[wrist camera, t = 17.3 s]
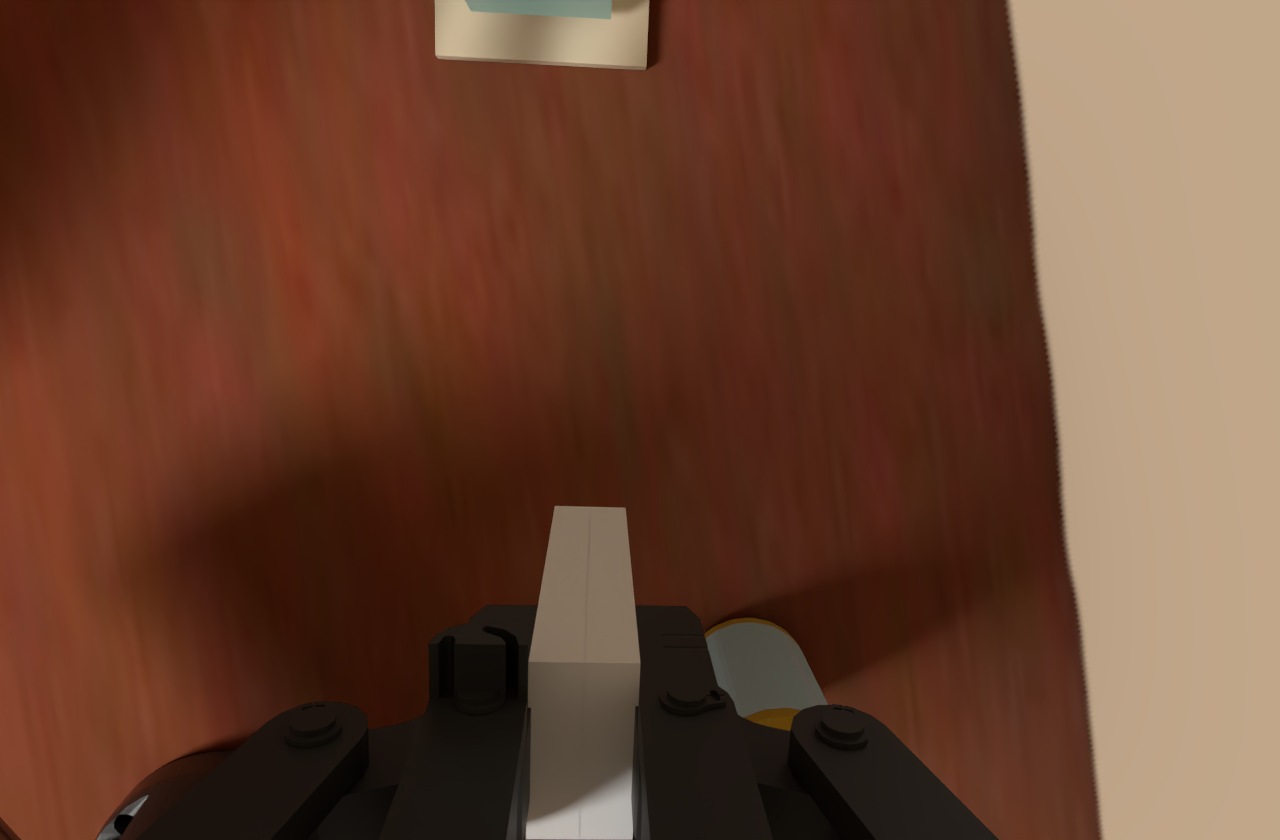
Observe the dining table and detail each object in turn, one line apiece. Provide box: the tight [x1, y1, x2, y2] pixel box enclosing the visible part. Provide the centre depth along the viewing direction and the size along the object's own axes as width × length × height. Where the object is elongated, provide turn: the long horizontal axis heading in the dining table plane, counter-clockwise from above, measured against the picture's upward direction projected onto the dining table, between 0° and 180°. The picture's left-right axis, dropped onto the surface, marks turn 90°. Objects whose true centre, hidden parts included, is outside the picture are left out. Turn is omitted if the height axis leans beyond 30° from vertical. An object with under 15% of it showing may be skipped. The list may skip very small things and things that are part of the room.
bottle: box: [705, 618, 828, 731], centre depth 40 cm, size 7×7×15 cm
